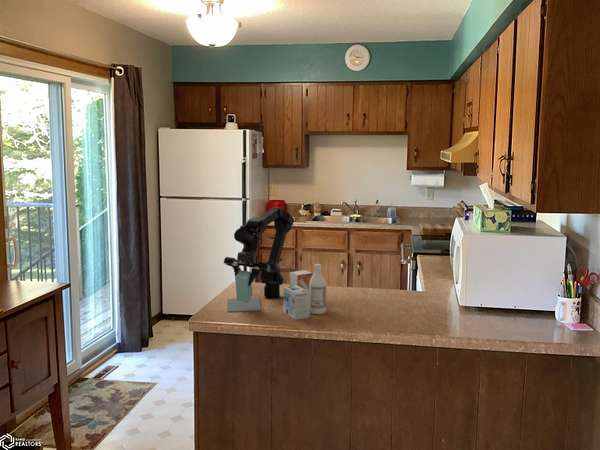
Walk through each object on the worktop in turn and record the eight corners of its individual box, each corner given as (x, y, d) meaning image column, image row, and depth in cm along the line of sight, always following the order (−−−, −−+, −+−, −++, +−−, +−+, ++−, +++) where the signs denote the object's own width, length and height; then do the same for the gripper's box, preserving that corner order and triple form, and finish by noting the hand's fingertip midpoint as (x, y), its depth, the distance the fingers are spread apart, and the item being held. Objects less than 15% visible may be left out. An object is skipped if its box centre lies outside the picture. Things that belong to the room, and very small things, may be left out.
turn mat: (259, 298, 241) (259, 298, 241) (261, 311, 224) (261, 310, 224) (227, 299, 240) (227, 298, 240) (226, 312, 222) (226, 311, 222)
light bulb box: (282, 312, 222) (283, 287, 221) (297, 310, 226) (297, 285, 224) (295, 320, 213) (295, 293, 212) (310, 317, 216) (310, 291, 215)
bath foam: (328, 313, 221) (329, 265, 218) (312, 315, 219) (313, 266, 216) (321, 308, 228) (322, 262, 225) (306, 310, 225) (306, 263, 222)
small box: (297, 304, 234) (297, 274, 232) (289, 300, 239) (289, 272, 237) (312, 301, 238) (312, 272, 236) (304, 298, 243) (304, 269, 241)
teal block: (241, 293, 229) (239, 270, 223) (252, 295, 228) (251, 271, 222) (236, 300, 225) (235, 276, 219) (248, 302, 223) (247, 278, 218)
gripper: (223, 240, 219) (214, 277, 216) (267, 246, 215) (259, 285, 212) (232, 246, 230) (223, 282, 226) (273, 253, 226) (266, 290, 222)
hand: (242, 285), depth 221 cm, fingers closed on teal block, 5 cm apart
